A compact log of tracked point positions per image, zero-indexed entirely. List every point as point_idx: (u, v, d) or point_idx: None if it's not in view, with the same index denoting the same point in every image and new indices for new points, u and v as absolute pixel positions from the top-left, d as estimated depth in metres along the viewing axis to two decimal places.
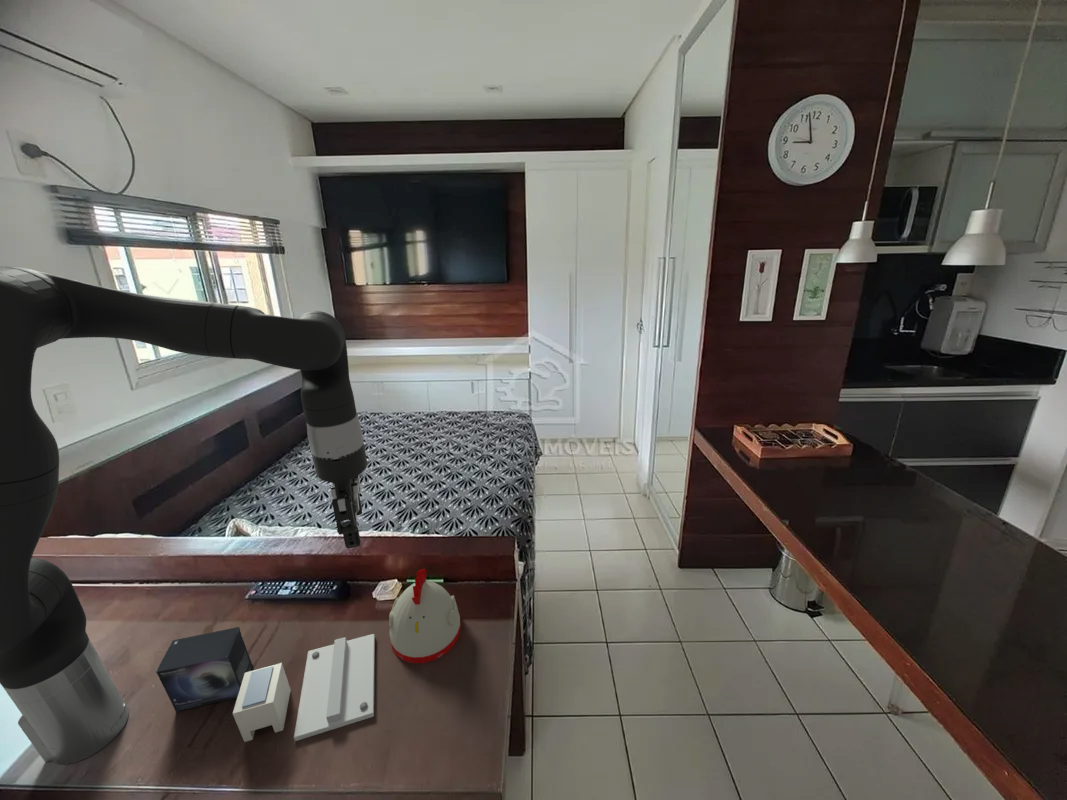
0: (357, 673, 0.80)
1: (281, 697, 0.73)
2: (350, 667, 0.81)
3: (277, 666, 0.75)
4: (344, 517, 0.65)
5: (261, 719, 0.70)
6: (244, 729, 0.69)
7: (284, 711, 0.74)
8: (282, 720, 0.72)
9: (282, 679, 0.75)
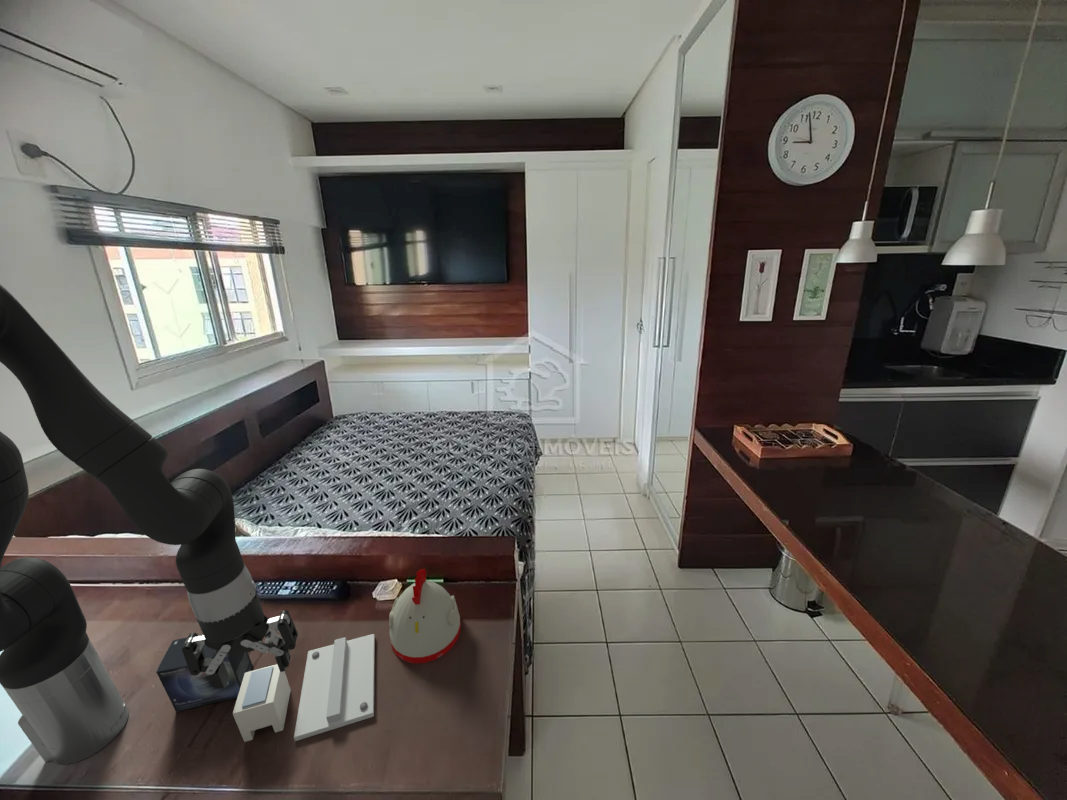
0: (357, 673, 0.80)
1: (281, 697, 0.73)
2: (350, 667, 0.81)
3: (277, 666, 0.75)
4: (291, 628, 0.69)
5: (261, 719, 0.70)
6: (244, 729, 0.69)
7: (284, 711, 0.74)
8: (282, 720, 0.72)
9: (282, 679, 0.75)
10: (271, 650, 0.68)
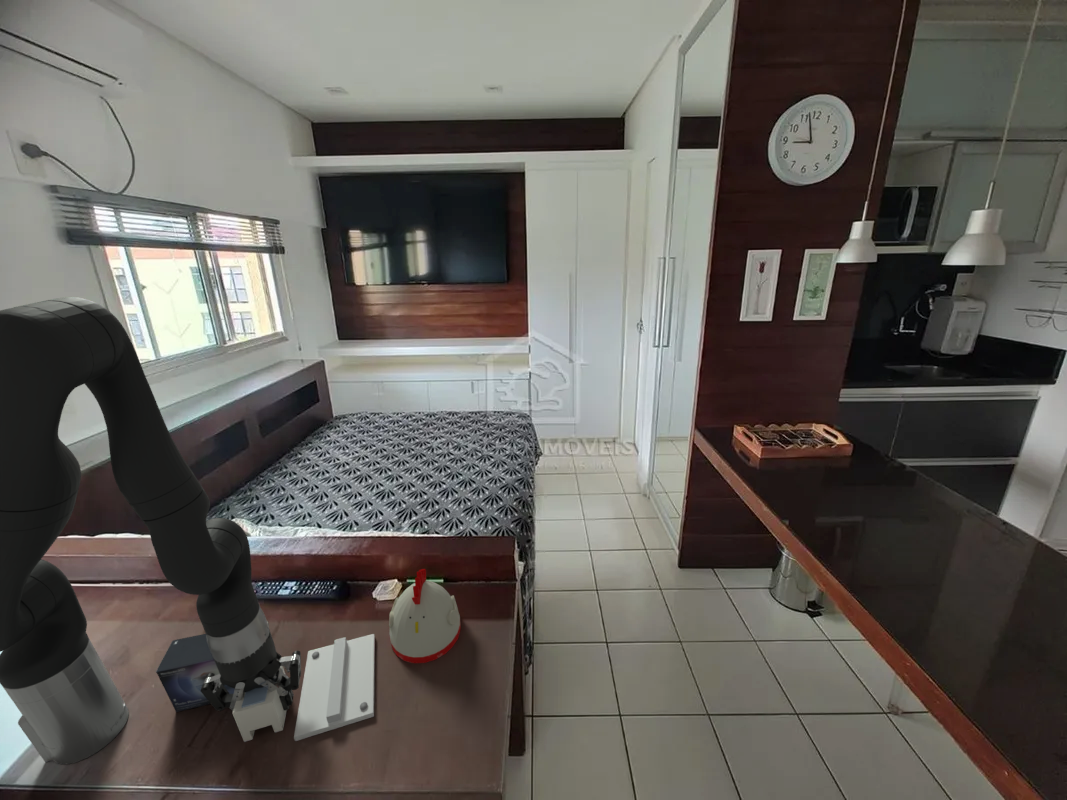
0: (357, 673, 0.80)
1: None
2: (350, 667, 0.81)
3: None
4: (299, 669, 0.73)
5: (261, 719, 0.70)
6: (244, 729, 0.69)
7: (284, 711, 0.74)
8: (282, 720, 0.72)
9: None
10: (277, 689, 0.72)
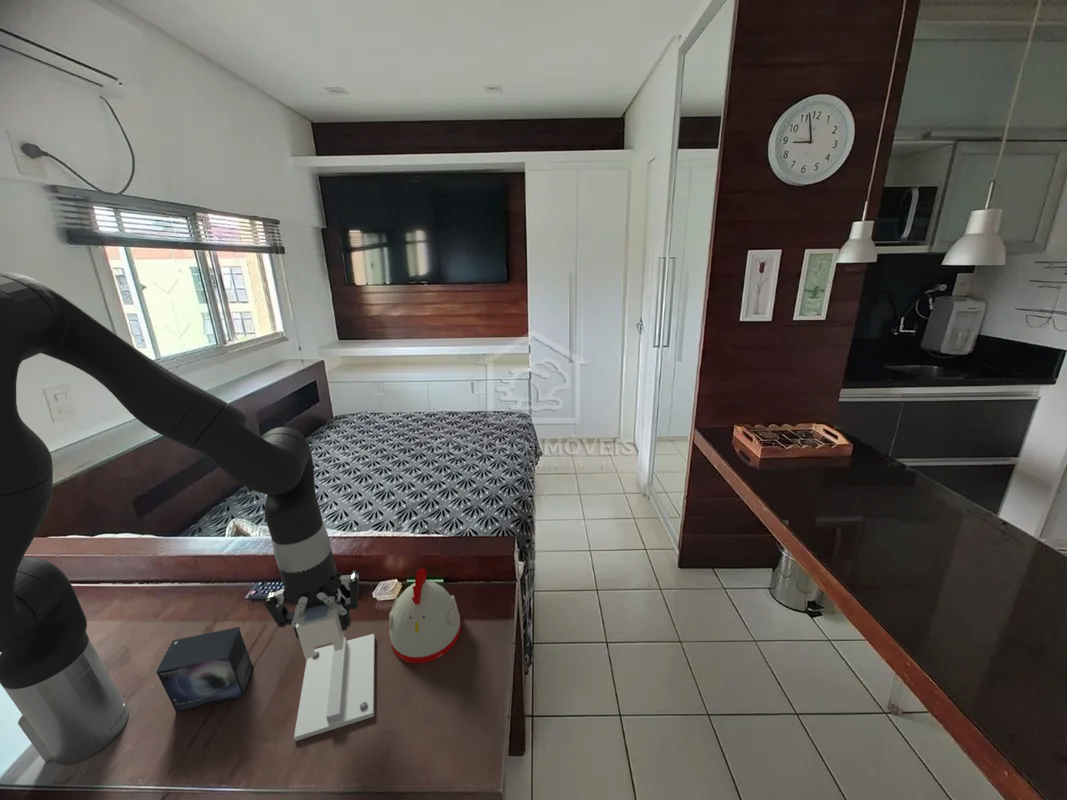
0: (357, 673, 0.80)
1: None
2: (350, 667, 0.81)
3: None
4: (358, 589, 0.73)
5: (322, 635, 0.70)
6: (306, 645, 0.70)
7: (342, 632, 0.74)
8: (341, 639, 0.72)
9: None
10: (337, 608, 0.72)
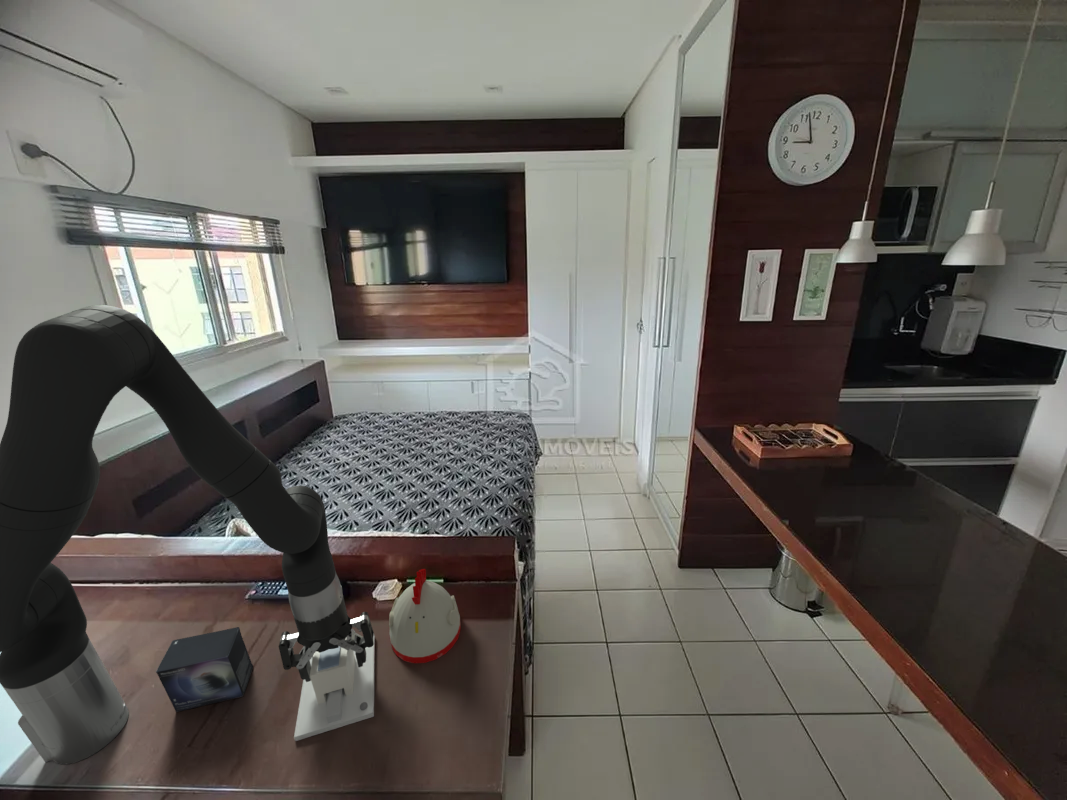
0: (357, 673, 0.80)
1: (350, 663, 0.78)
2: None
3: None
4: (370, 628, 0.77)
5: (334, 682, 0.74)
6: (319, 691, 0.74)
7: (352, 676, 0.78)
8: (352, 684, 0.77)
9: None
10: (353, 647, 0.76)
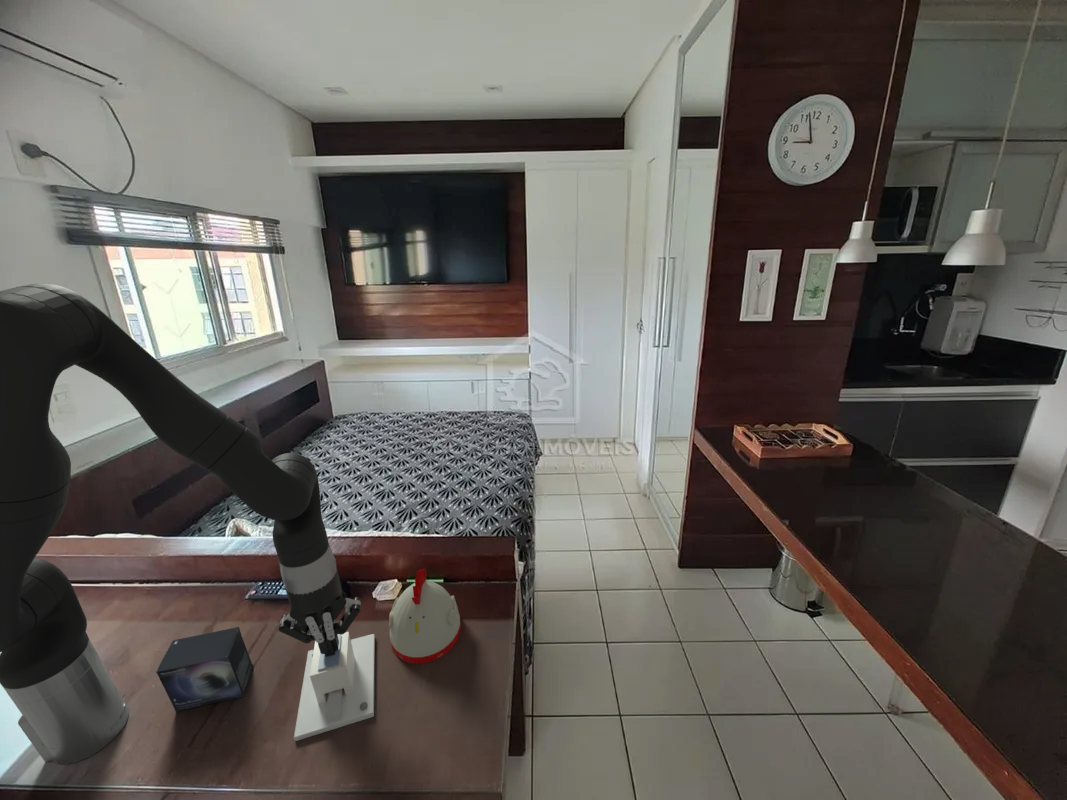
0: (357, 673, 0.80)
1: (350, 663, 0.78)
2: None
3: (345, 634, 0.79)
4: None
5: (334, 682, 0.74)
6: (319, 691, 0.74)
7: (352, 676, 0.78)
8: (352, 684, 0.77)
9: (350, 647, 0.79)
10: (329, 631, 0.73)
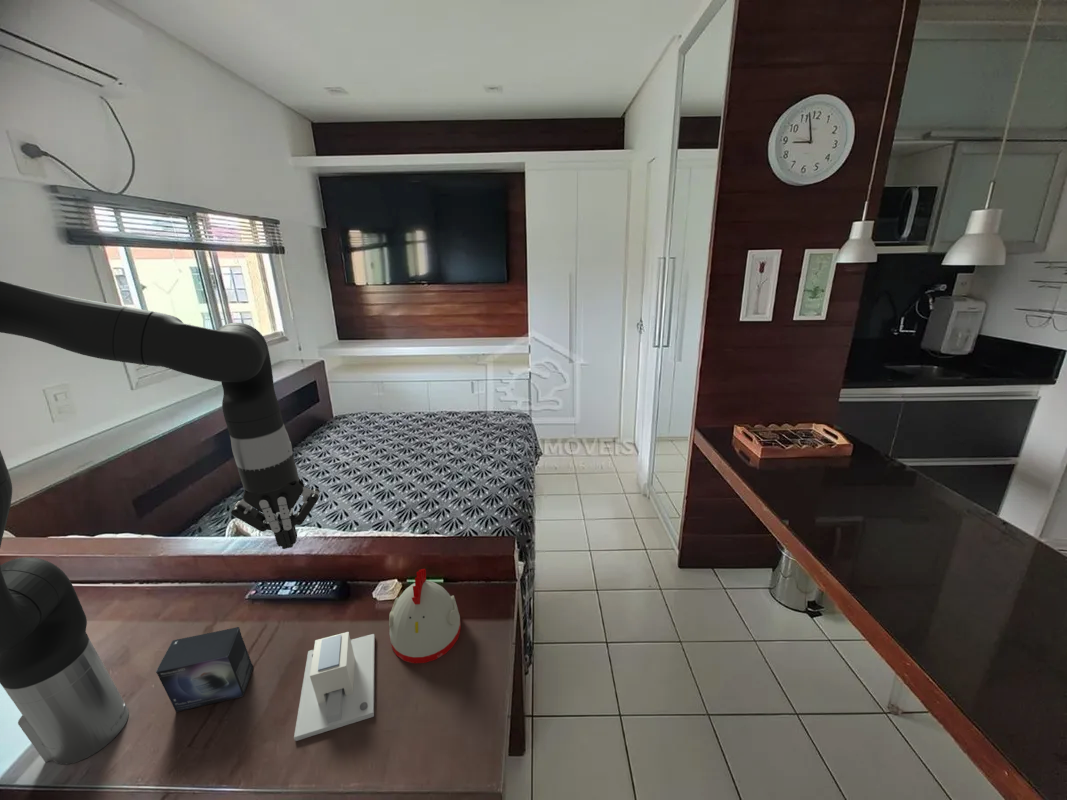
0: (357, 673, 0.80)
1: (350, 663, 0.78)
2: None
3: (345, 634, 0.79)
4: None
5: (334, 682, 0.74)
6: (319, 691, 0.74)
7: (352, 676, 0.78)
8: (352, 684, 0.77)
9: (350, 647, 0.79)
10: (285, 520, 0.71)
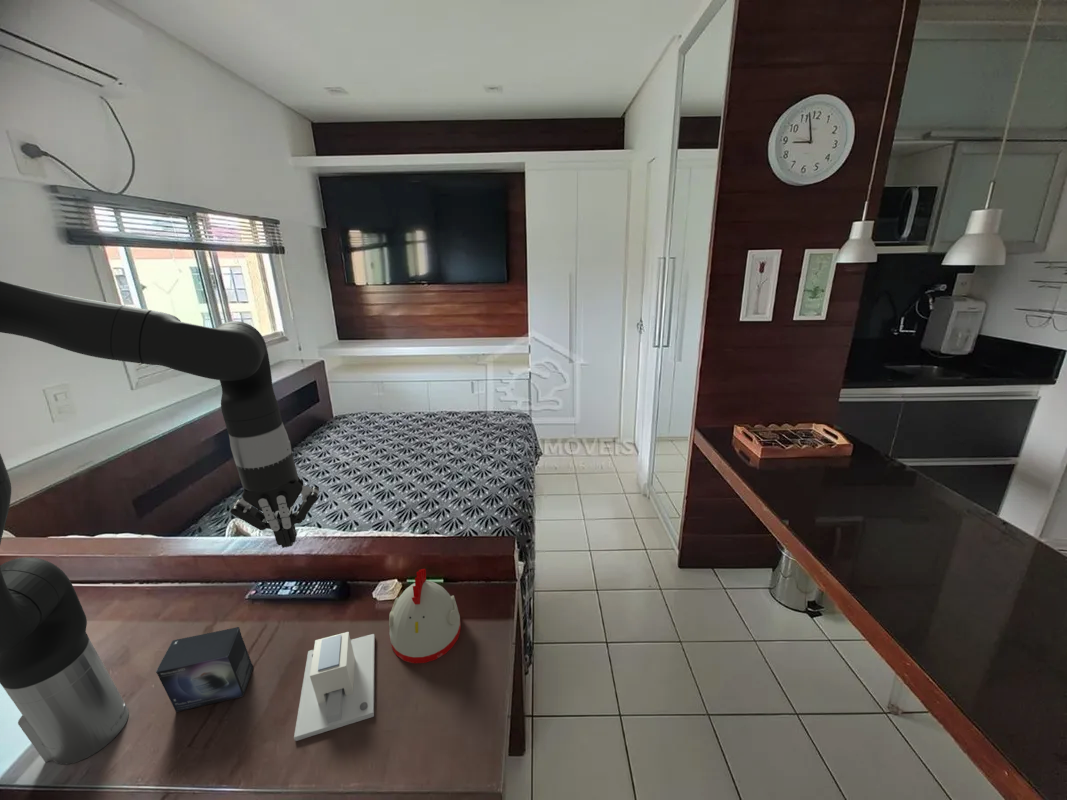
0: (357, 673, 0.80)
1: (350, 663, 0.78)
2: None
3: (345, 634, 0.79)
4: None
5: (334, 682, 0.74)
6: (319, 691, 0.74)
7: (352, 676, 0.78)
8: (352, 684, 0.77)
9: (350, 647, 0.79)
10: (284, 519, 0.71)
